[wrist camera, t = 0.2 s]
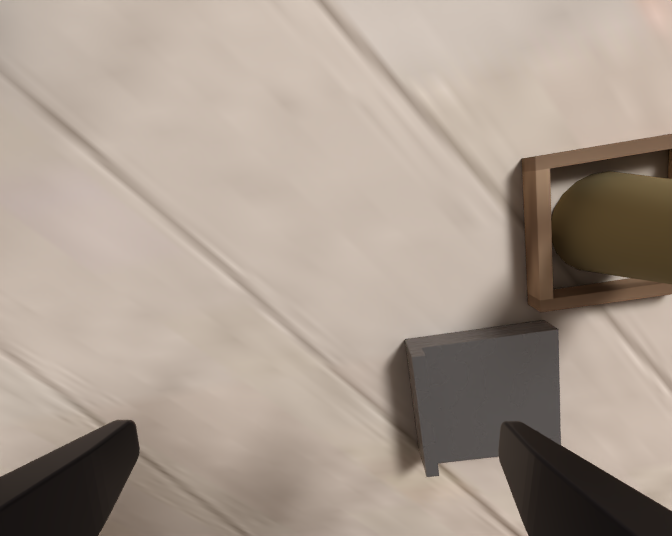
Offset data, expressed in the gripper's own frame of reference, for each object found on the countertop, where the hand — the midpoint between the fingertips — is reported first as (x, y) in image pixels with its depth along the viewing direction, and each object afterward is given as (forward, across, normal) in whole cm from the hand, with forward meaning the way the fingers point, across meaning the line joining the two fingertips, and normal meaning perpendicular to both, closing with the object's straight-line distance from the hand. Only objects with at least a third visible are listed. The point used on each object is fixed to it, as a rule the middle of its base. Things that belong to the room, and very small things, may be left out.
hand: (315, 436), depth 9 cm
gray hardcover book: (+14, -10, +7) cm, 19 cm away
